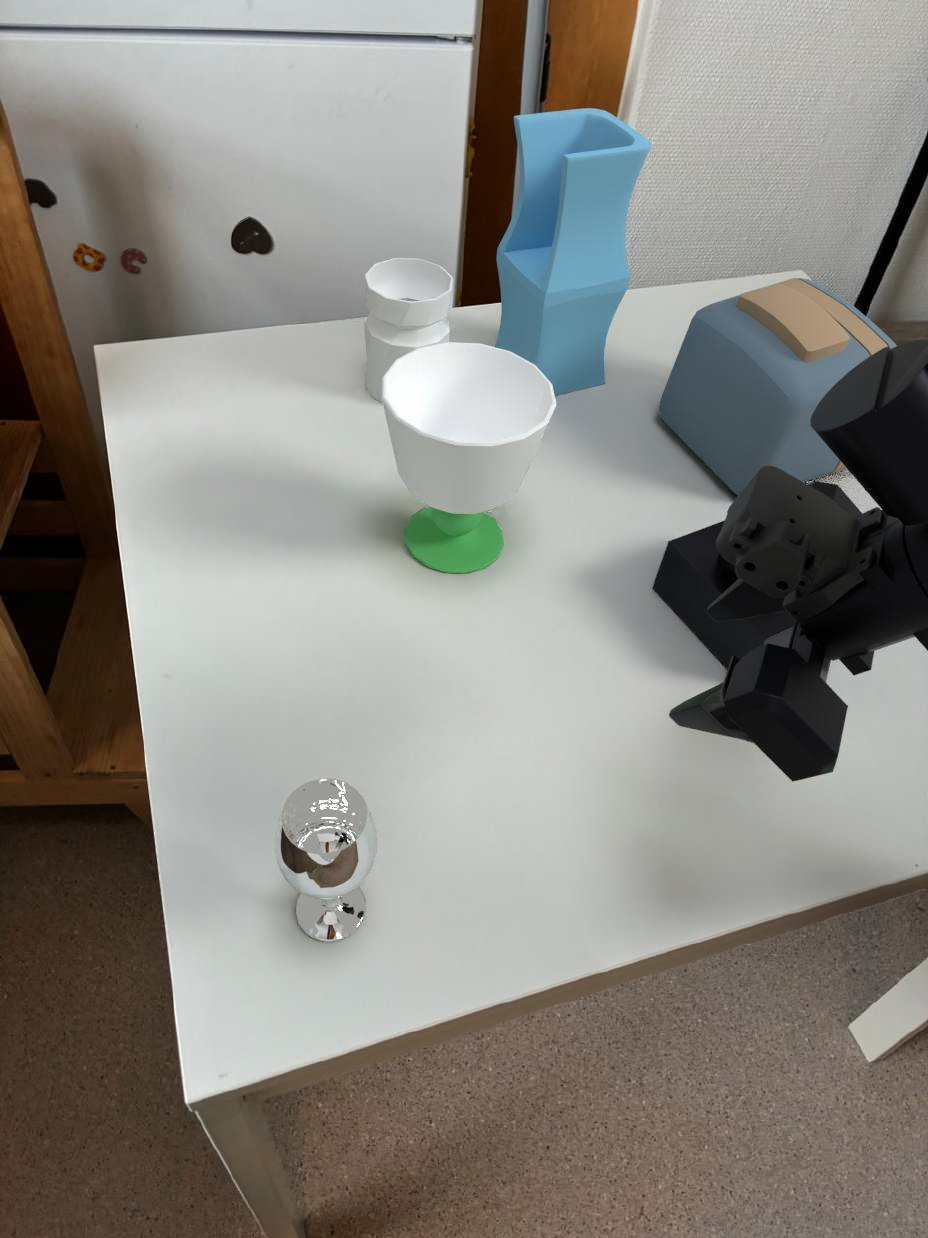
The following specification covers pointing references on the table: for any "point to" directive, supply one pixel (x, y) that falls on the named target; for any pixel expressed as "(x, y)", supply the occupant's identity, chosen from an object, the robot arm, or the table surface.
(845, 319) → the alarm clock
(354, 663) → the table surface
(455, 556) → the cup
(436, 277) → the vase
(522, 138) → the vase
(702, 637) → the control block
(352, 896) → the wineglass
